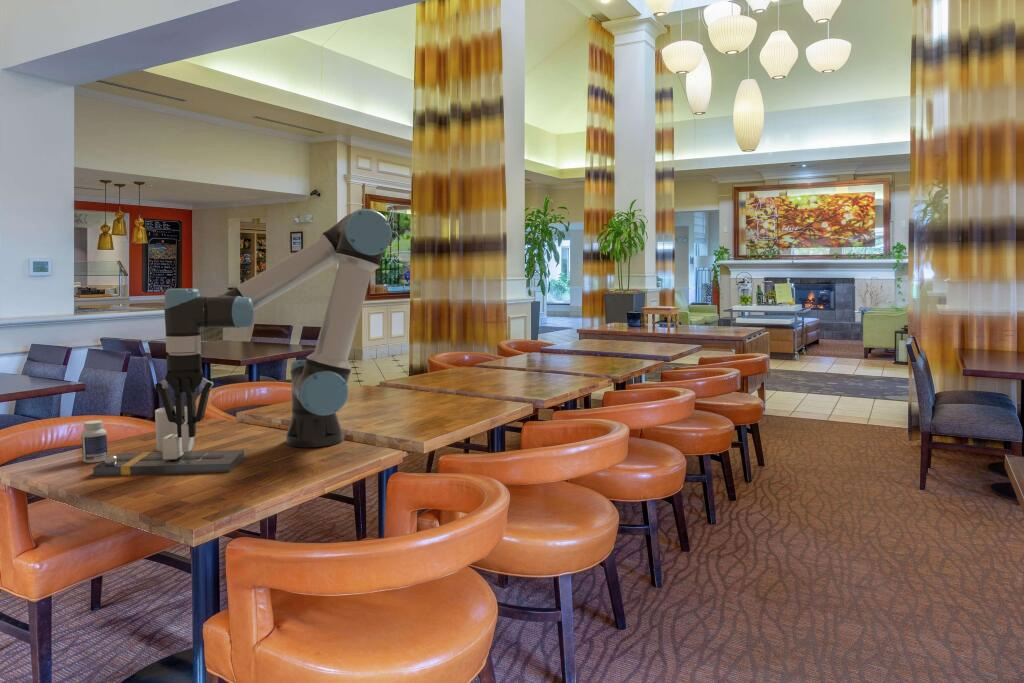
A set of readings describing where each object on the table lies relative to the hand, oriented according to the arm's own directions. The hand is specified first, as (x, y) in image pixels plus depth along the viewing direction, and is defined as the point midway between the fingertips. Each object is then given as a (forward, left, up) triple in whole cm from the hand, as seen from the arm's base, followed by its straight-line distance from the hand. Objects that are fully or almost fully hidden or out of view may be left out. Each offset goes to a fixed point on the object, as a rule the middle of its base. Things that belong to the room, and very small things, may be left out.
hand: (187, 450), depth 165 cm
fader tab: (+3, 0, -2) cm, 4 cm away
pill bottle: (+24, -8, -4) cm, 26 cm away
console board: (+3, 0, -4) cm, 5 cm away
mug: (+8, -17, -4) cm, 19 cm away
